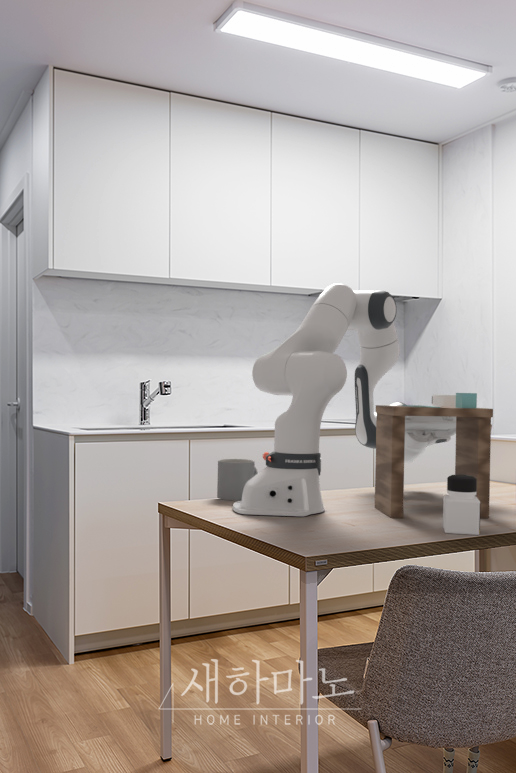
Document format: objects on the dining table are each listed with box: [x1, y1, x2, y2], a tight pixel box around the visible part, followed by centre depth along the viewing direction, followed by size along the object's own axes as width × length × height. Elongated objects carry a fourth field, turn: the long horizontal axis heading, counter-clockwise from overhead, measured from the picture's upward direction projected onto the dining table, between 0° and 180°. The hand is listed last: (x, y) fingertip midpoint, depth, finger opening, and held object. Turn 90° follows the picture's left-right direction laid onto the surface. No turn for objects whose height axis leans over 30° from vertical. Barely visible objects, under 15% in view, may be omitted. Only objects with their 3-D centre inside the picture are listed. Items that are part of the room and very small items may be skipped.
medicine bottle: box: [442, 474, 481, 536], centre depth 149 cm, size 7×7×12 cm
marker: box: [431, 392, 478, 408], centre depth 177 cm, size 23×4×4 cm, turn 6°
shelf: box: [374, 404, 494, 519], centre depth 171 cm, size 24×16×26 cm, turn 96°
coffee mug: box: [216, 458, 259, 502], centre depth 190 cm, size 13×10×10 cm
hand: (434, 408), depth 189 cm, fingers open, 8 cm apart
